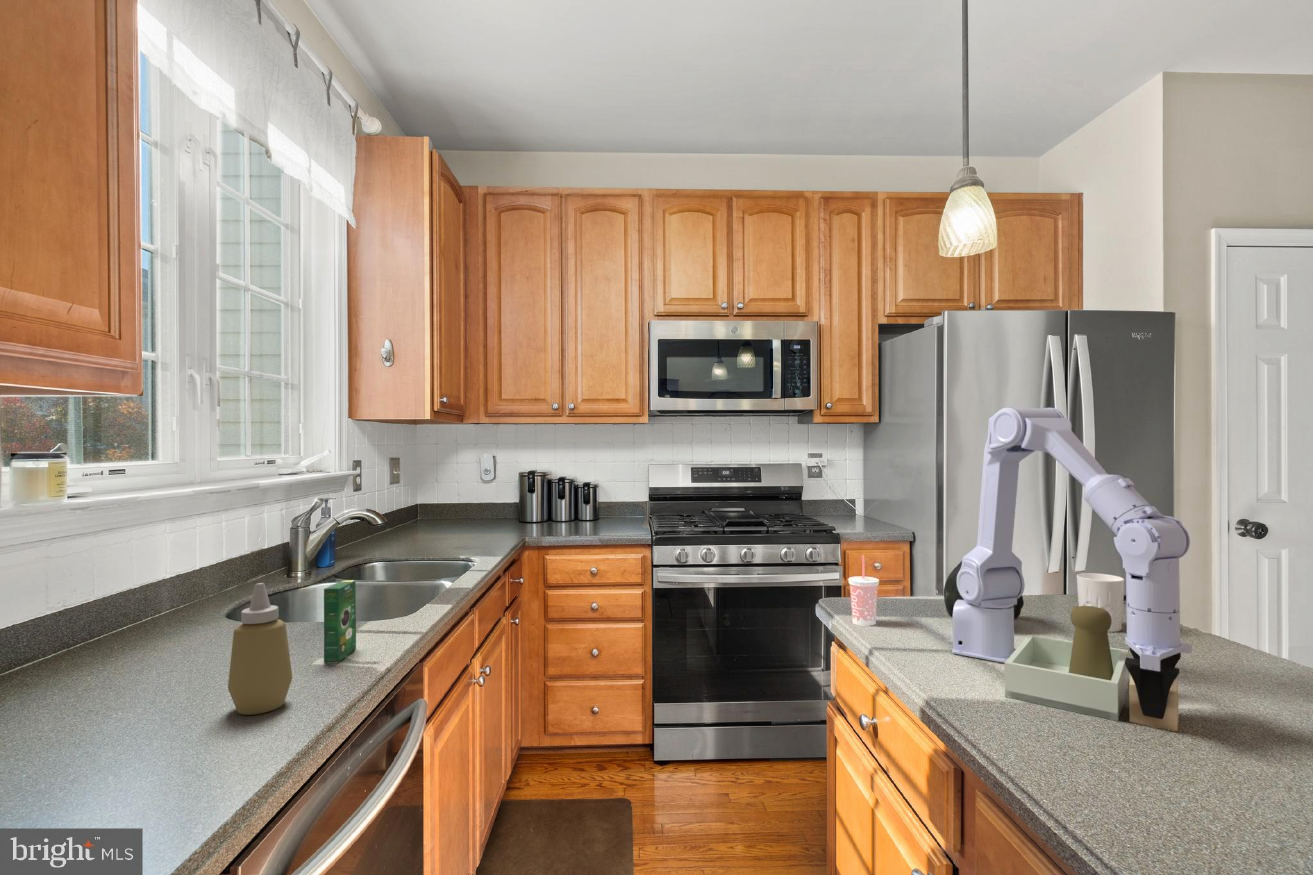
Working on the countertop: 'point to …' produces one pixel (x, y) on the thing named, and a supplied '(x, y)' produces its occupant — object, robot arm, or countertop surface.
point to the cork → (1091, 643)
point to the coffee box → (339, 621)
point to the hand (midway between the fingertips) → (1154, 709)
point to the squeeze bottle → (259, 658)
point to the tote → (1064, 679)
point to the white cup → (1102, 595)
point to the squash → (953, 595)
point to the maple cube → (1137, 717)
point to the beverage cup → (863, 598)
